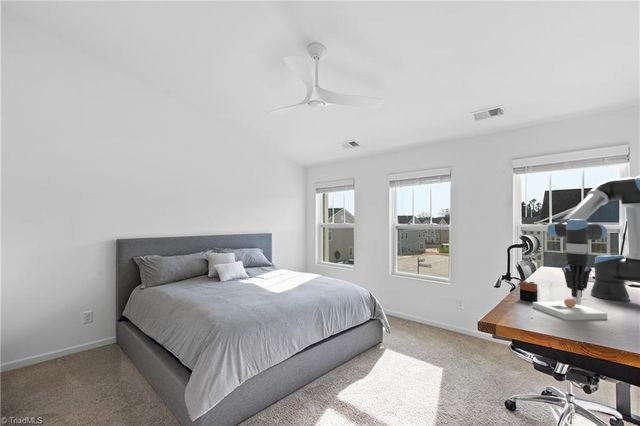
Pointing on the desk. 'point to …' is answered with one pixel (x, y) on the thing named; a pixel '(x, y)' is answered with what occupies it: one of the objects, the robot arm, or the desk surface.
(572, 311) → the white flat square slab
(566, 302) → the ball
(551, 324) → the desk surface
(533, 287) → the battery
